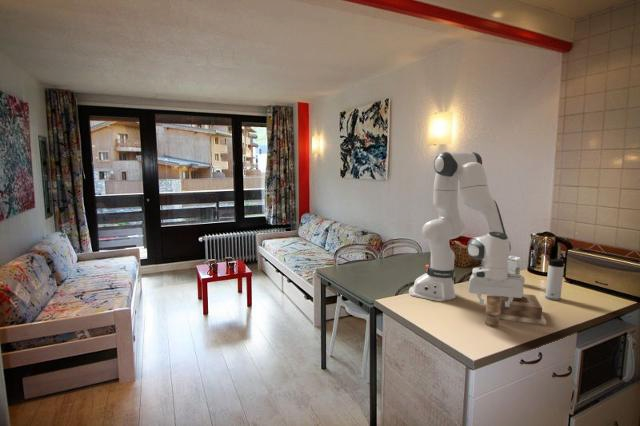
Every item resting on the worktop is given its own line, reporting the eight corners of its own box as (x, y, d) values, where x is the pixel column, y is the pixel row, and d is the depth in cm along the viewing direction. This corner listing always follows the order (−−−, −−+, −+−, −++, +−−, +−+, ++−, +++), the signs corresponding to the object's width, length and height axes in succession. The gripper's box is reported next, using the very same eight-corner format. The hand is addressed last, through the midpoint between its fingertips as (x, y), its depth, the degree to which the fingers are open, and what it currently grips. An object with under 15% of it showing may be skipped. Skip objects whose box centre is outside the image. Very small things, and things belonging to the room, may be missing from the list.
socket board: (497, 318, 157) (498, 304, 156) (493, 302, 174) (494, 289, 173) (545, 324, 151) (547, 310, 150) (536, 308, 168) (538, 294, 167)
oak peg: (485, 326, 150) (487, 298, 149) (484, 320, 155) (486, 293, 153) (499, 328, 149) (501, 299, 147) (497, 322, 153) (500, 295, 152)
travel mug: (554, 301, 176) (558, 261, 173) (542, 296, 182) (546, 257, 179) (564, 300, 177) (568, 260, 174) (552, 295, 184) (556, 256, 181)
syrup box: (508, 280, 206) (510, 255, 204) (519, 283, 201) (521, 257, 199) (503, 282, 202) (505, 257, 200) (514, 285, 198) (516, 259, 195)
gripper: (523, 272, 148) (521, 305, 149) (468, 268, 155) (467, 299, 156) (526, 277, 142) (524, 311, 144) (469, 272, 149) (468, 305, 151)
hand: (494, 305), depth 150 cm, fingers open, 8 cm apart
